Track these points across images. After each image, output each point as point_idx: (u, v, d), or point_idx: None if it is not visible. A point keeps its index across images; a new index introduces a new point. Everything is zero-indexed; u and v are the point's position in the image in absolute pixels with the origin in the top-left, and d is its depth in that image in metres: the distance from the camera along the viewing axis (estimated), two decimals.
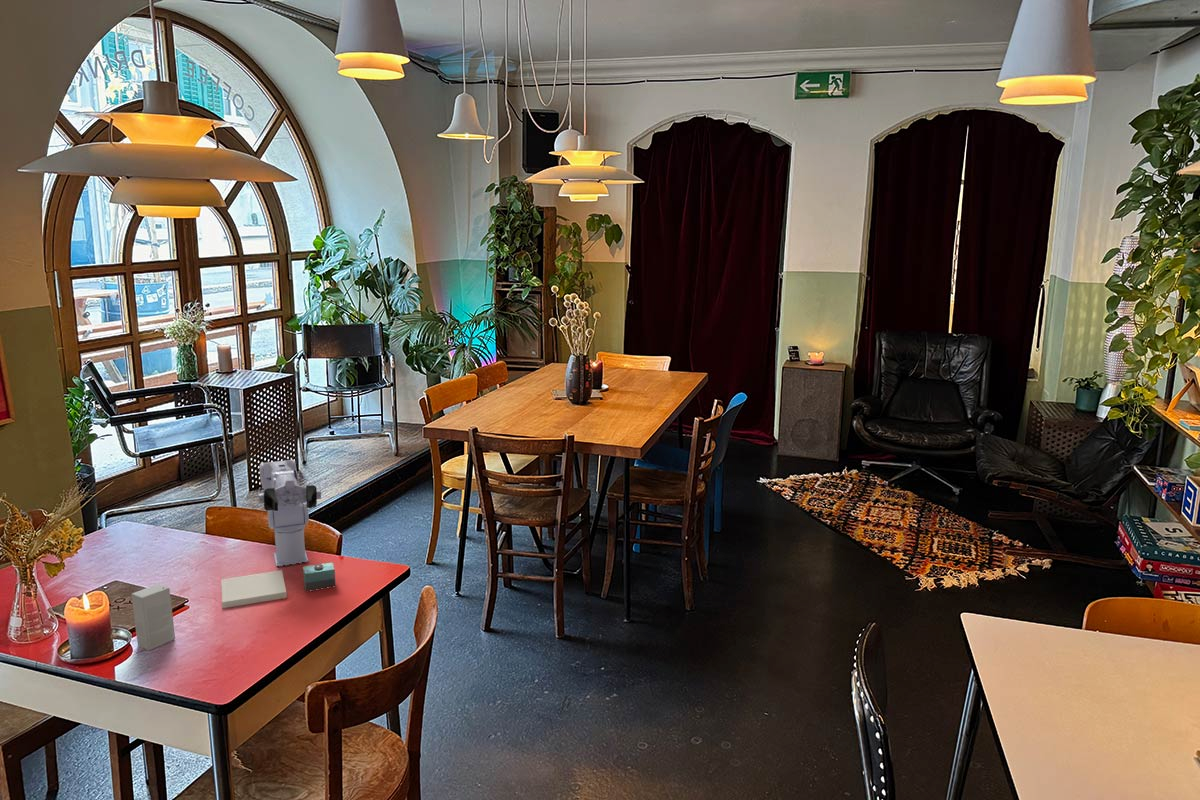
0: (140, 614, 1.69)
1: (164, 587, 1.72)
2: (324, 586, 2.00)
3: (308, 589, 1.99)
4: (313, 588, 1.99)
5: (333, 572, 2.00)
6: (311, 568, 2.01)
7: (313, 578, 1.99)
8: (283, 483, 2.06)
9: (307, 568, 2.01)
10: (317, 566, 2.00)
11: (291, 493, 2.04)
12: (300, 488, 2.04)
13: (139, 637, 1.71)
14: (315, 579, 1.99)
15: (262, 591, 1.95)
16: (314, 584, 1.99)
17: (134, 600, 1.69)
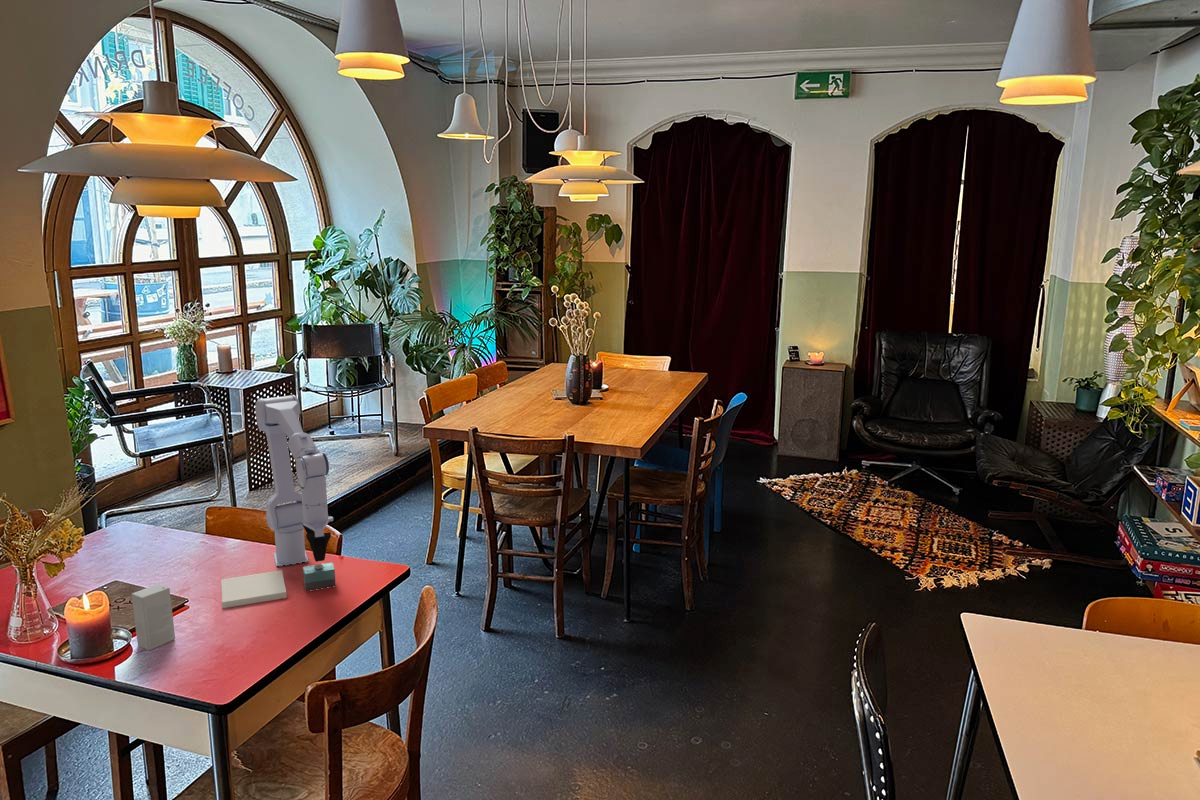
0: (140, 614, 1.69)
1: (164, 587, 1.72)
2: (324, 586, 2.00)
3: (308, 589, 1.99)
4: (313, 588, 1.99)
5: (333, 572, 2.00)
6: (311, 568, 2.01)
7: (313, 578, 1.99)
8: (326, 510, 1.98)
9: (307, 568, 2.01)
10: (317, 566, 2.00)
11: None
12: None
13: (139, 637, 1.71)
14: (315, 579, 1.99)
15: (262, 591, 1.95)
16: (314, 584, 1.99)
17: (134, 600, 1.69)
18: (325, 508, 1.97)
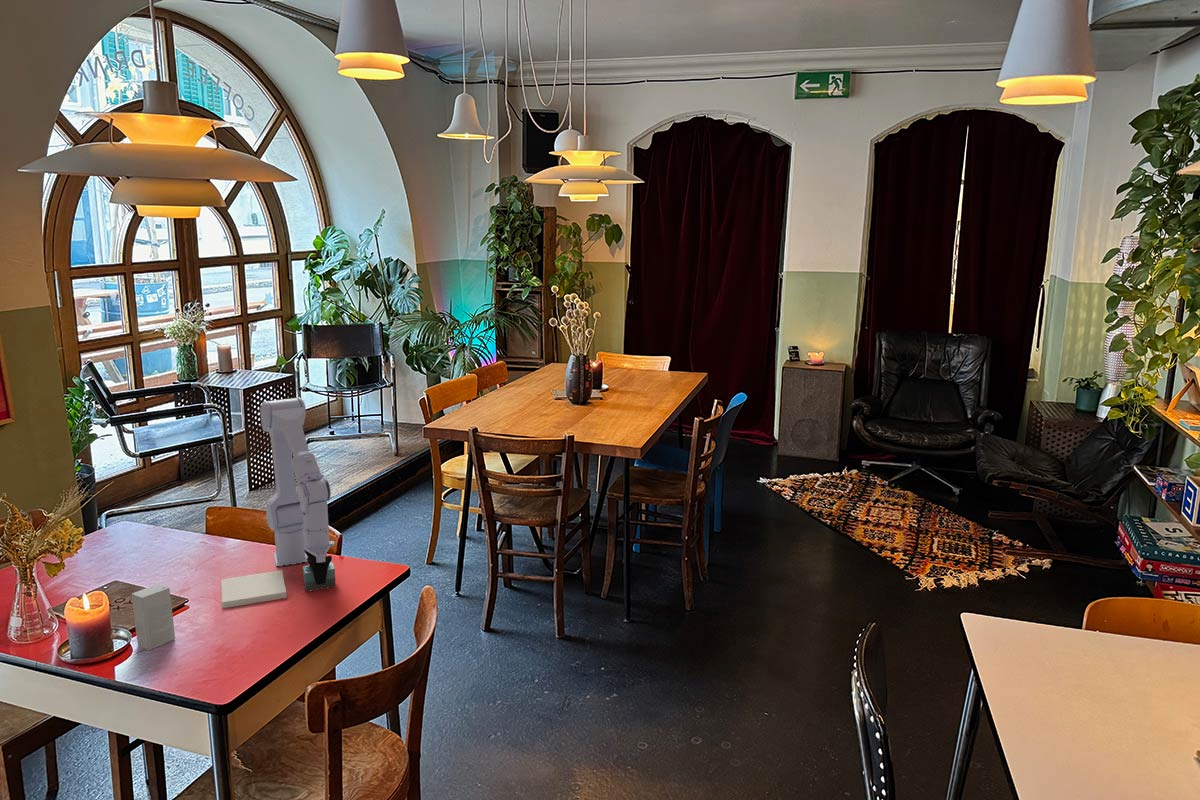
0: (140, 614, 1.69)
1: (164, 587, 1.72)
2: (324, 585, 2.00)
3: (308, 588, 1.99)
4: (313, 587, 1.99)
5: (333, 571, 2.00)
6: None
7: (313, 577, 1.99)
8: (328, 535, 1.99)
9: (307, 567, 2.01)
10: None
11: None
12: None
13: (139, 637, 1.71)
14: None
15: (262, 591, 1.95)
16: (314, 584, 1.99)
17: (134, 600, 1.69)
18: (326, 533, 1.99)
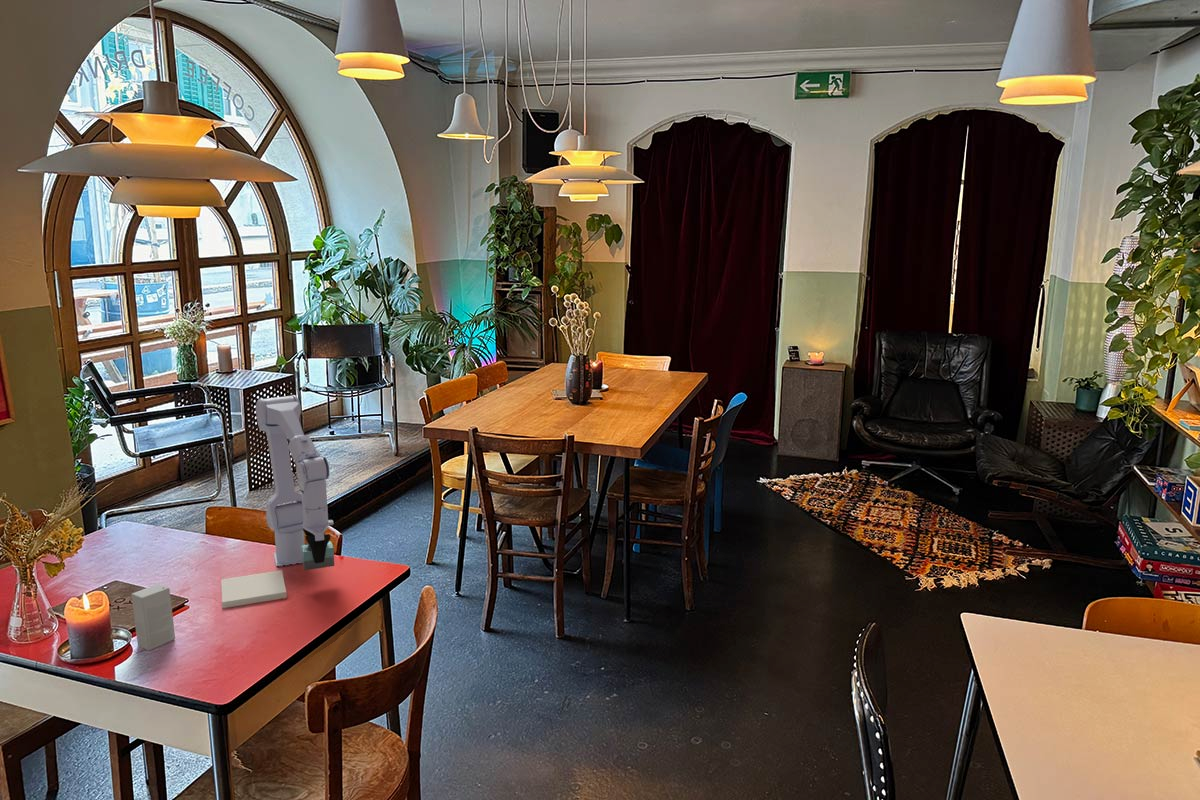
0: (140, 614, 1.69)
1: (164, 587, 1.72)
2: (323, 564, 1.99)
3: (307, 567, 1.97)
4: (312, 566, 1.98)
5: (332, 550, 1.99)
6: None
7: (312, 556, 1.97)
8: (326, 514, 1.98)
9: (306, 546, 2.00)
10: None
11: None
12: None
13: (139, 637, 1.71)
14: None
15: (262, 591, 1.95)
16: (313, 563, 1.98)
17: (134, 600, 1.69)
18: (325, 512, 1.97)
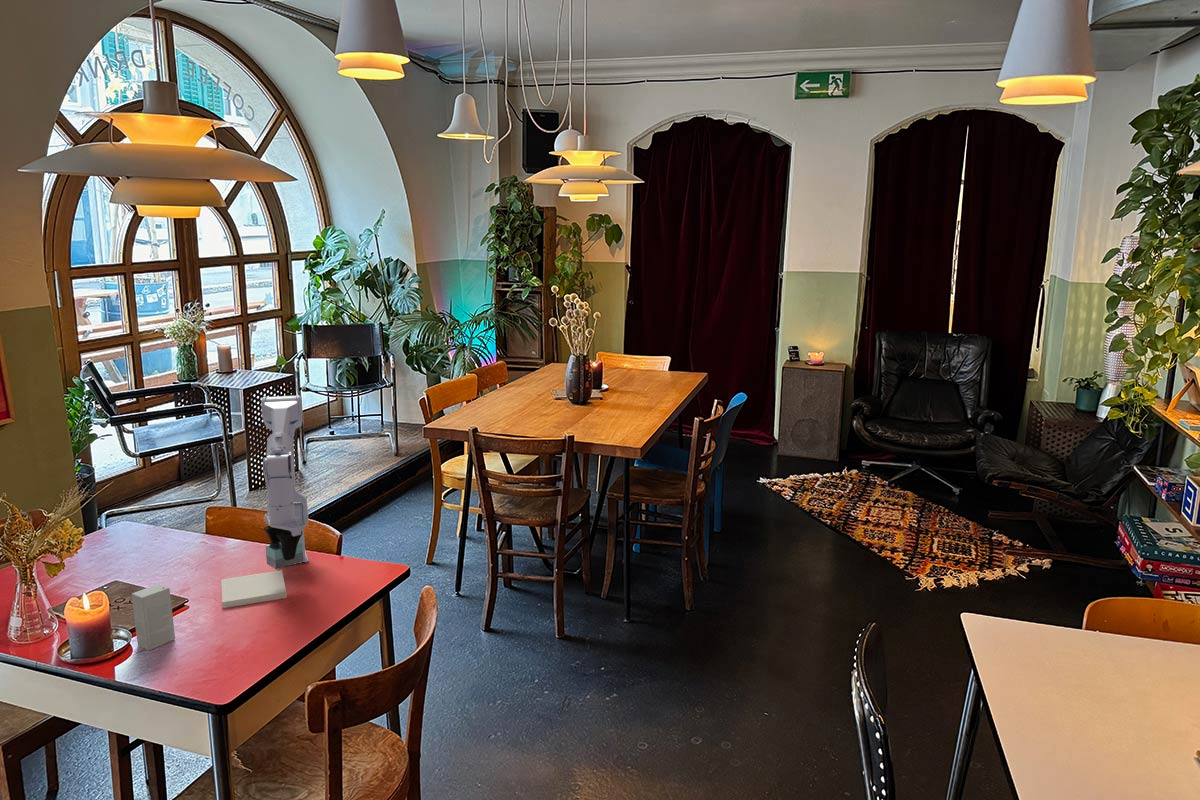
0: (140, 614, 1.69)
1: (164, 587, 1.72)
2: (293, 561, 1.98)
3: (278, 566, 1.95)
4: (282, 564, 1.96)
5: (301, 546, 1.99)
6: (276, 545, 1.97)
7: (282, 554, 1.95)
8: None
9: (272, 545, 1.97)
10: None
11: None
12: None
13: (139, 637, 1.71)
14: None
15: (262, 591, 1.95)
16: (284, 560, 1.96)
17: (134, 600, 1.69)
18: (293, 507, 1.96)
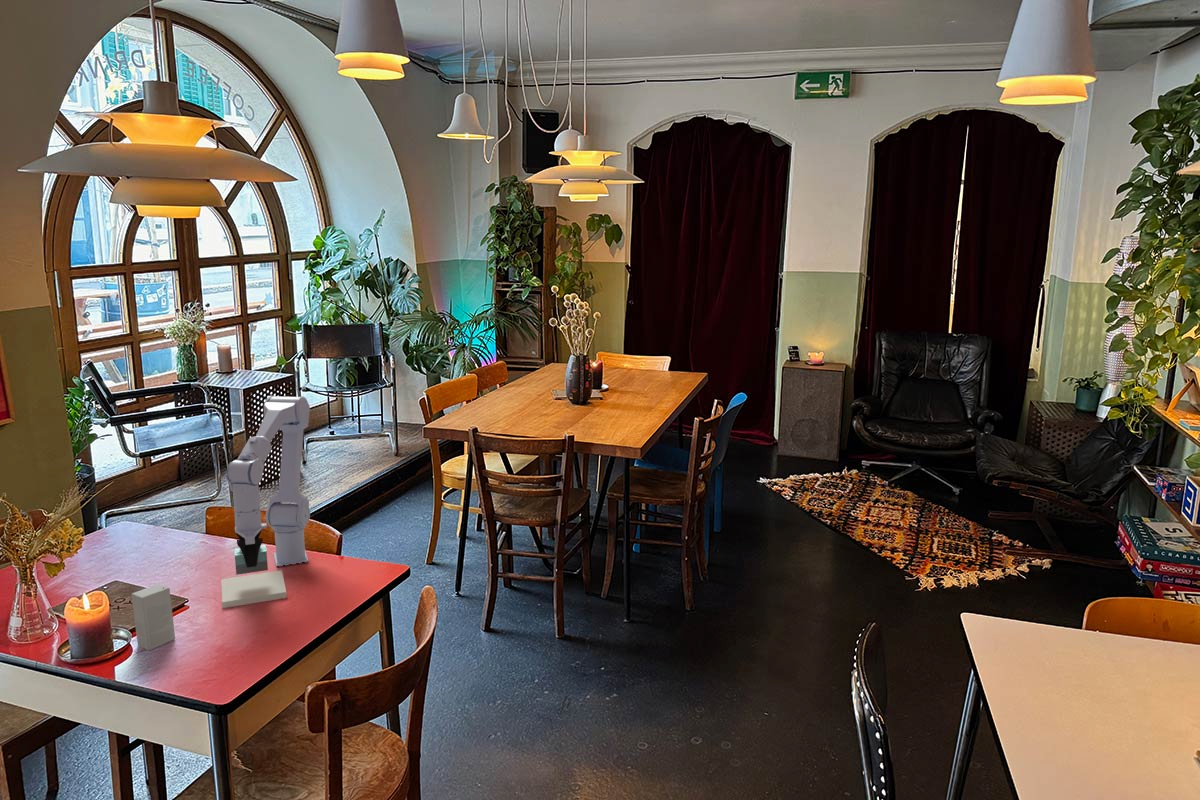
0: (140, 614, 1.69)
1: (164, 587, 1.72)
2: (255, 569, 1.95)
3: (239, 571, 1.94)
4: (244, 570, 1.94)
5: (265, 554, 1.96)
6: None
7: (244, 560, 1.94)
8: (259, 517, 1.94)
9: (239, 550, 1.96)
10: None
11: None
12: None
13: (139, 637, 1.71)
14: None
15: (262, 591, 1.95)
16: (245, 567, 1.94)
17: (134, 600, 1.69)
18: (258, 515, 1.94)
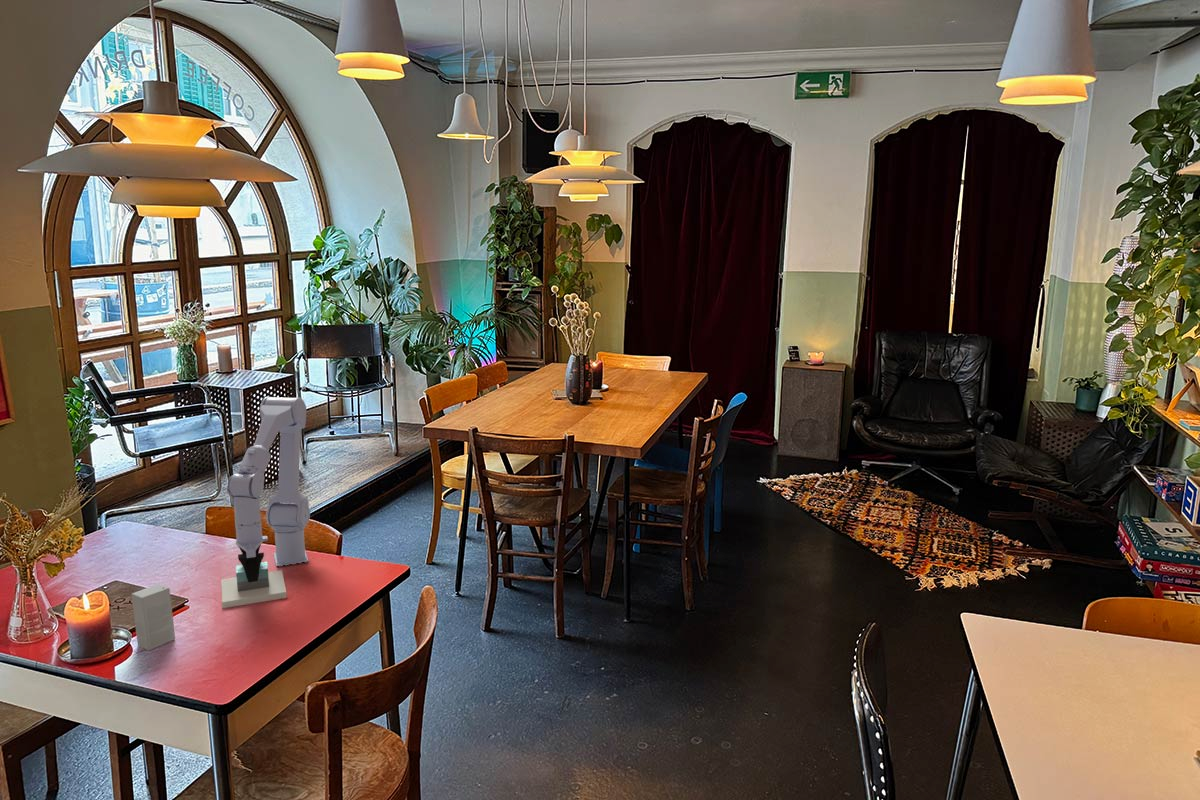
0: (140, 614, 1.69)
1: (164, 587, 1.72)
2: (257, 585, 1.96)
3: (240, 588, 1.95)
4: (245, 587, 1.95)
5: (266, 571, 1.96)
6: None
7: (245, 577, 1.95)
8: (260, 530, 1.95)
9: (240, 567, 1.97)
10: None
11: None
12: None
13: (139, 637, 1.71)
14: None
15: (262, 591, 1.95)
16: (247, 584, 1.95)
17: (134, 600, 1.69)
18: (259, 528, 1.94)
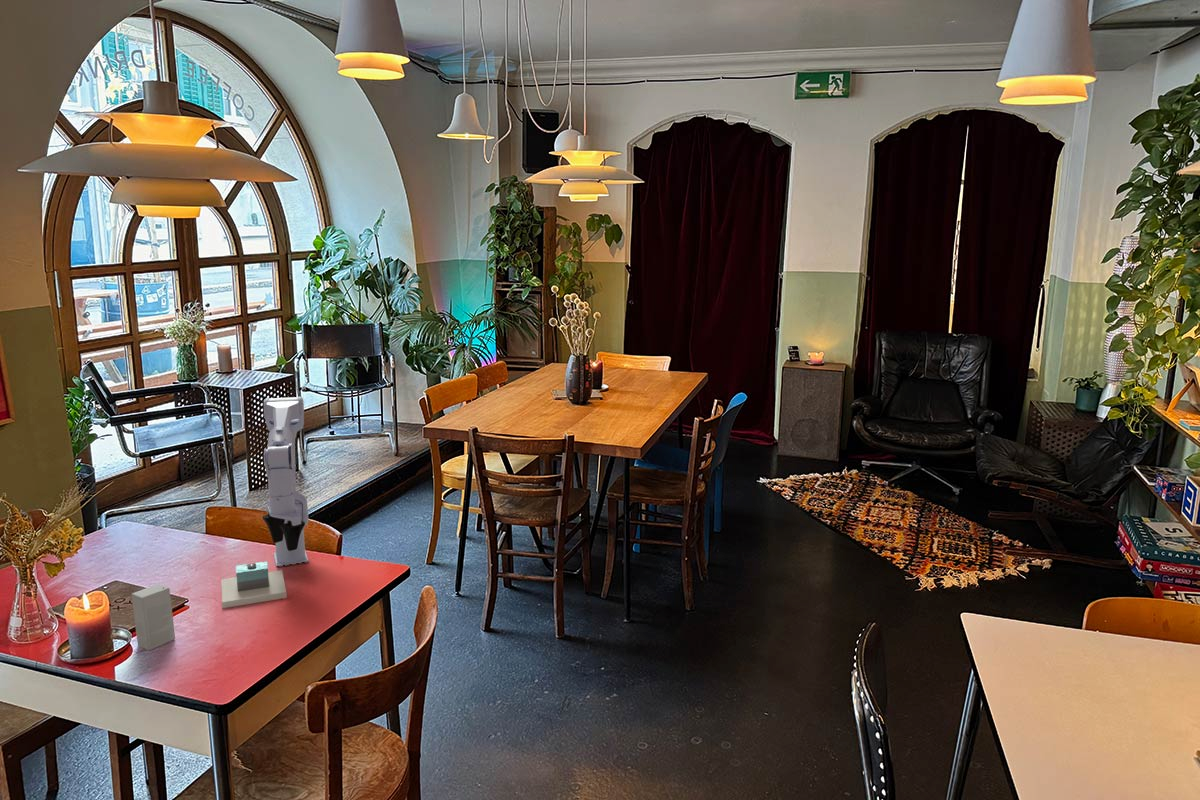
0: (140, 614, 1.69)
1: (164, 587, 1.72)
2: (257, 585, 1.96)
3: (240, 588, 1.95)
4: (245, 587, 1.95)
5: (266, 571, 1.96)
6: (244, 567, 1.97)
7: (245, 577, 1.95)
8: (294, 500, 2.01)
9: (240, 567, 1.97)
10: (250, 565, 1.96)
11: None
12: None
13: (139, 637, 1.71)
14: (247, 578, 1.95)
15: (262, 591, 1.95)
16: (247, 584, 1.95)
17: (134, 600, 1.69)
18: (293, 498, 2.00)
